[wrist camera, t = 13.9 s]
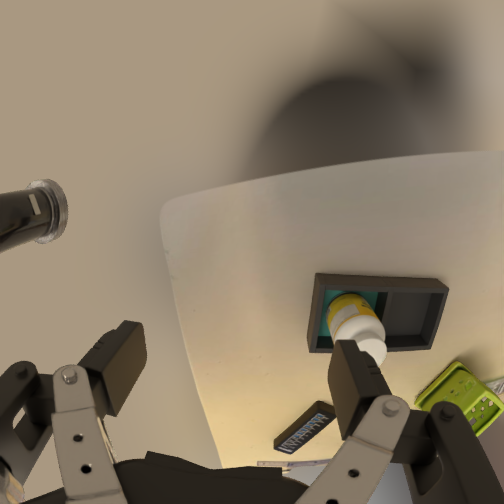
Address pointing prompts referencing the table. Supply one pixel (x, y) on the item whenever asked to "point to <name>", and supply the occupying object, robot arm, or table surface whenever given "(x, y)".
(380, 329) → the pill bottle
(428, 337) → the dark grey divided tray
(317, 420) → the multiport hub
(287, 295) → the table surface
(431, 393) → the flower pot
